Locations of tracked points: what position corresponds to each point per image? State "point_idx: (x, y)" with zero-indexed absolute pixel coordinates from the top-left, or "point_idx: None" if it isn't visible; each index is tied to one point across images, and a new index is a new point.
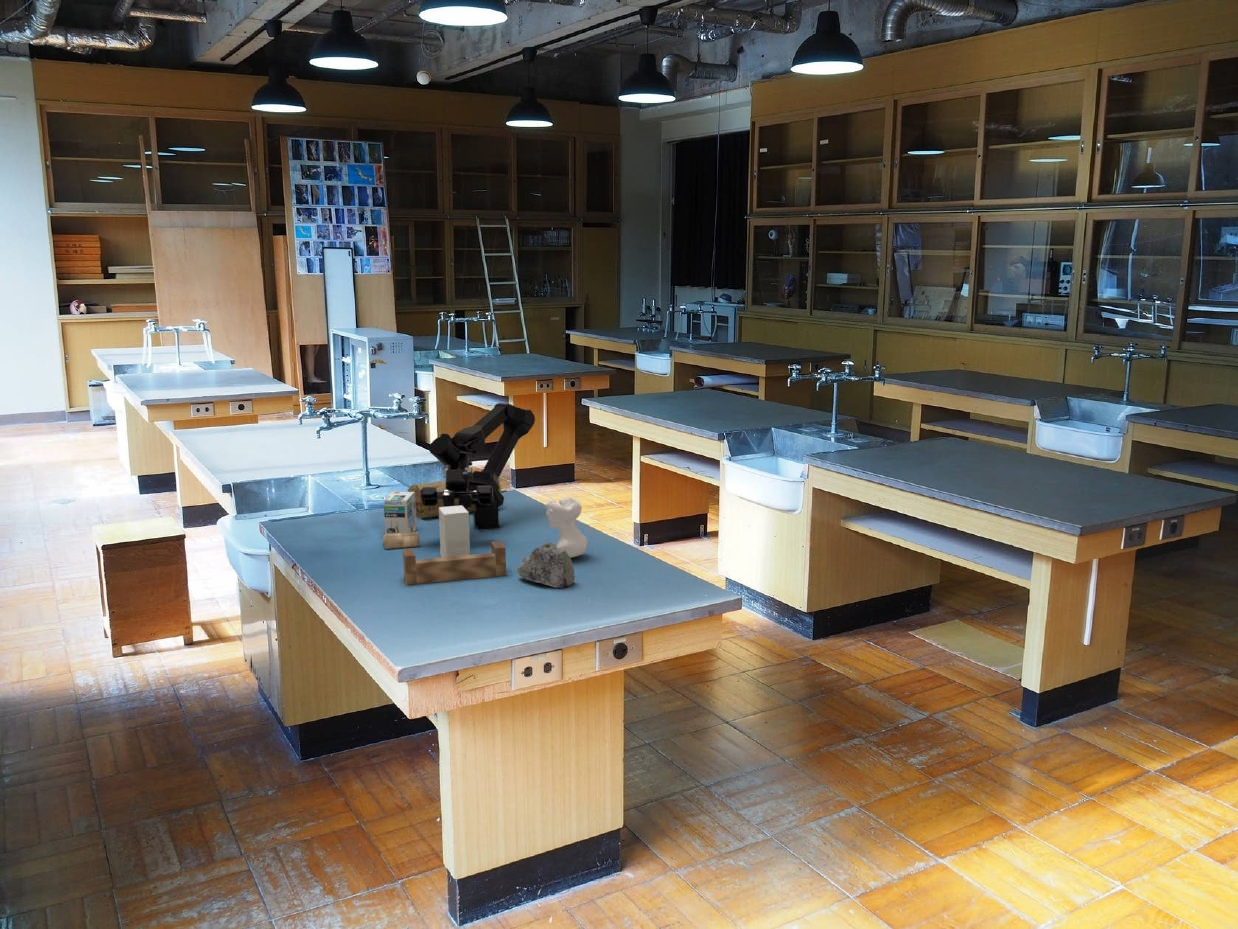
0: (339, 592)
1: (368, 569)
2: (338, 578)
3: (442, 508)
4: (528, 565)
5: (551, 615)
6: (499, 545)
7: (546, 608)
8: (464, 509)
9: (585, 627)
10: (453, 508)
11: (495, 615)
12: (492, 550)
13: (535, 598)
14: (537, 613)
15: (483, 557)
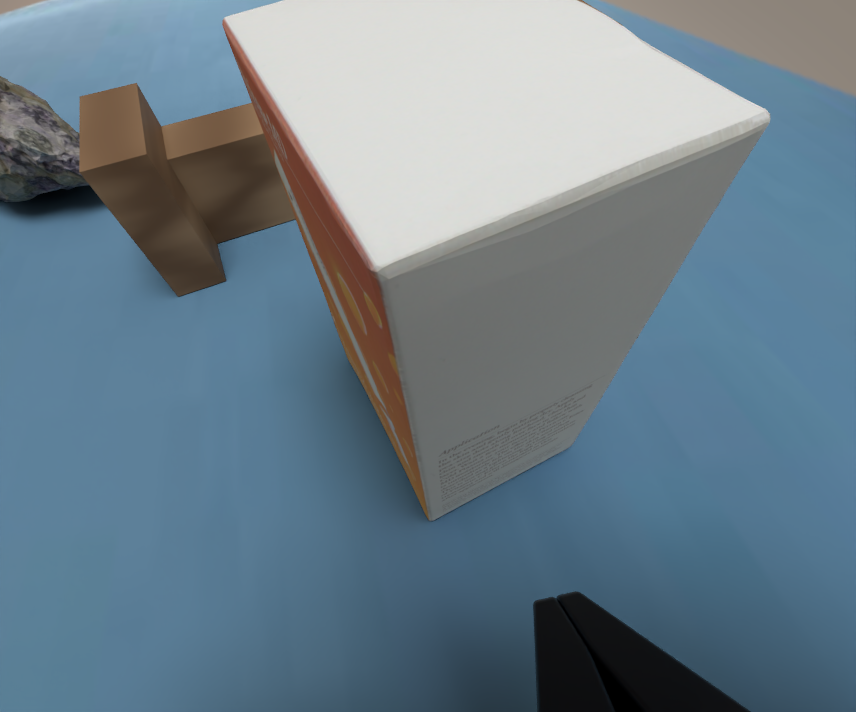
0: (710, 55)
1: (813, 213)
2: (835, 128)
3: (662, 78)
4: (37, 97)
5: (86, 33)
6: (106, 111)
7: (87, 54)
8: (287, 80)
9: (30, 9)
10: (472, 81)
11: (220, 20)
12: (169, 177)
13: (100, 90)
14: (117, 36)
15: (223, 111)
